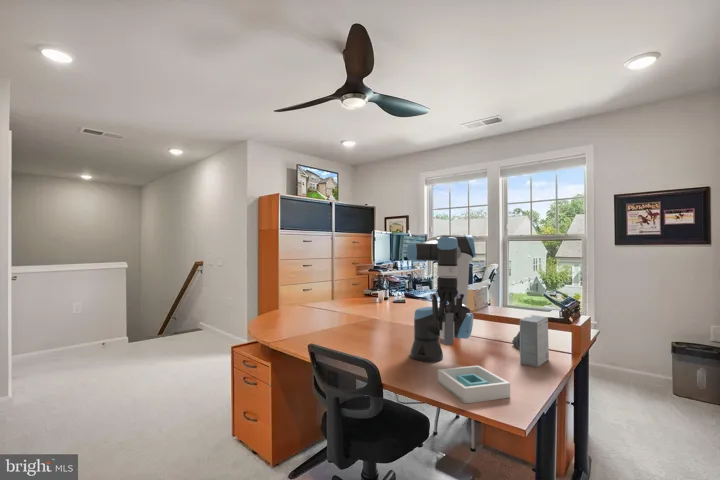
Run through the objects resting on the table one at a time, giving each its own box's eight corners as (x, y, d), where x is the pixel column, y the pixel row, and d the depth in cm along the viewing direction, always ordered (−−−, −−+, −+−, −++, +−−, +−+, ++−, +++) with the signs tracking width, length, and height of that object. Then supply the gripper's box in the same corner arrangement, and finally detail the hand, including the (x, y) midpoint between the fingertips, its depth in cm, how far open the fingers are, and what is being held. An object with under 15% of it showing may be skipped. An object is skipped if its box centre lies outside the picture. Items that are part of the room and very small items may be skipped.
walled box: (437, 382, 129) (437, 369, 129) (478, 378, 134) (478, 365, 134) (464, 403, 112) (464, 388, 112) (510, 397, 116) (510, 383, 117)
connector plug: (440, 342, 131) (440, 303, 131) (447, 342, 131) (448, 303, 132) (445, 345, 126) (445, 305, 127) (453, 345, 127) (453, 305, 128)
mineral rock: (512, 343, 183) (512, 325, 183) (534, 346, 178) (534, 327, 178) (511, 350, 171) (511, 330, 171) (535, 353, 166) (535, 333, 167)
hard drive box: (531, 356, 162) (531, 314, 163) (549, 359, 157) (548, 317, 157) (519, 363, 151) (519, 319, 152) (537, 368, 146) (537, 321, 146)
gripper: (432, 277, 124) (431, 341, 123) (471, 277, 128) (471, 339, 127) (423, 276, 132) (423, 336, 131) (461, 276, 135) (461, 335, 134)
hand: (446, 338), depth 129 cm, fingers closed on connector plug, 3 cm apart
